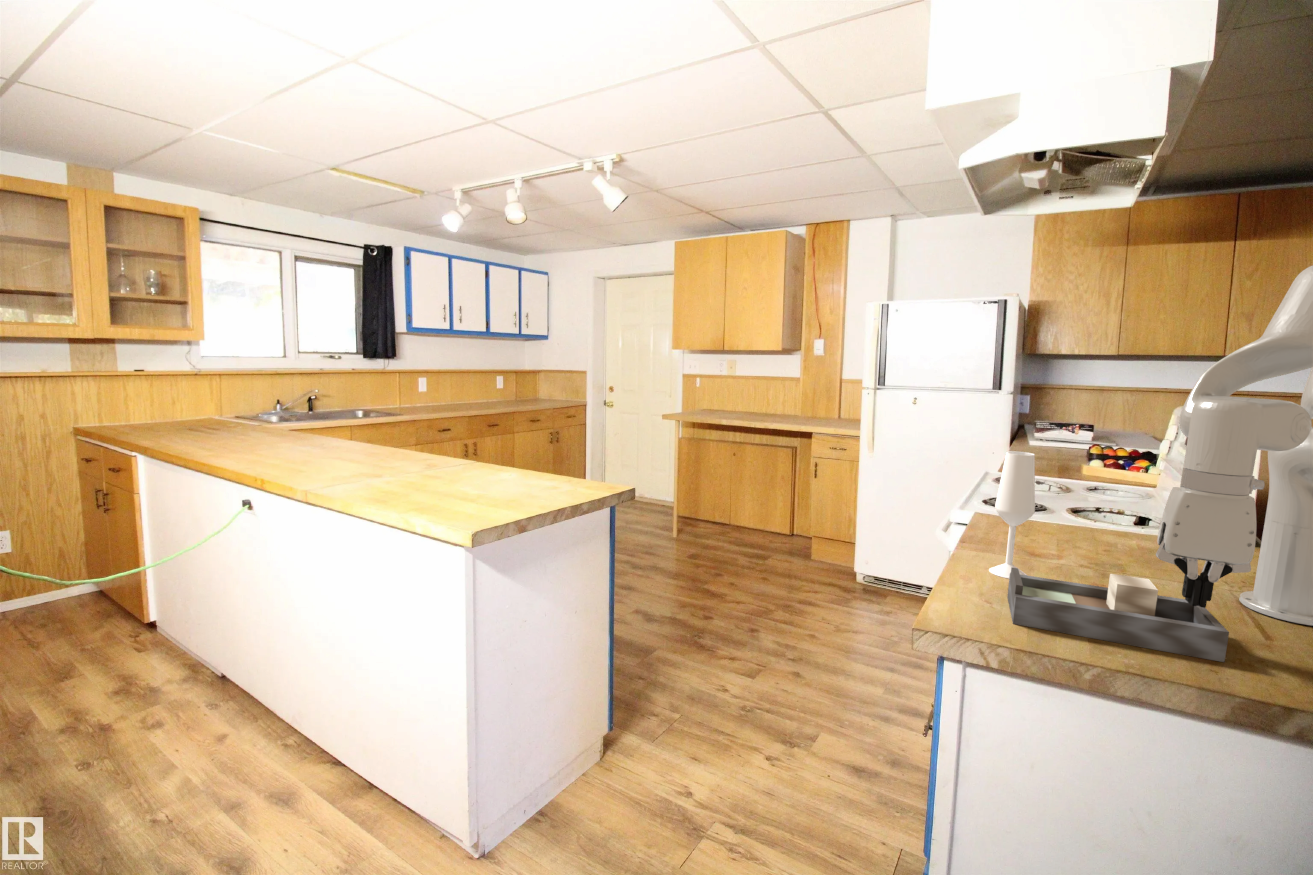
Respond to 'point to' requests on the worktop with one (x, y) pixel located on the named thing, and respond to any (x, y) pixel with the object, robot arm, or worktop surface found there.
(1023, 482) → the champagne flute
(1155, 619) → the tray
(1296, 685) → the worktop surface
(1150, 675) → the worktop surface
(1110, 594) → the block
